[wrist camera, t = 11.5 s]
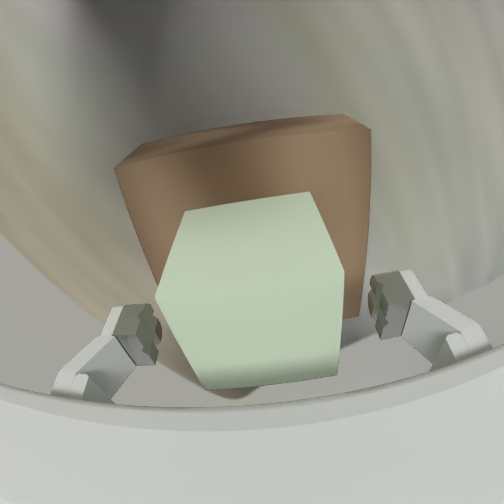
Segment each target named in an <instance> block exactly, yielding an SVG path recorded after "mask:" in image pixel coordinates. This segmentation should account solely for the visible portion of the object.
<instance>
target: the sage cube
mask: <svg viewBox="0 0 504 504" xmlns="http://www.w3.org/2000/svg"><path fill="white" fill-rule="evenodd" d="M343 297H344V269H343V267H342V264H341V262H340V259H339V257H338V255H337V252H336V250H335V247H334V245H333V243H332V240H331V238H330V236H329V233H328V231H327V229H326V226H325V224H324V222H323V220H322V217H321V215H320V213H319V211H318V208H317V206H316V204H315V202H314V200H313V197H312V195H311V193H310V191H309V192H302V193H295V194H288V195H281V196H274V197H267V198H261V199H254V200H248V201H241V202H235V203H229V204H223V205H218V206H212V207H206V208H201V209H195V210H190V211H185V212H184V215H183V218H182V220H181V223H180V226H179V228H178V231H177V234H176V237H175V239H174V242H173V245H172V248H171V251H170V253H169V256H168V259H167V262H166V265H165V268H164V271H163V274H162V277H161V280H160V283H159V286H158V289H157V292H156V295H155V299H156V301H157V303H158V305H159V307H160V309H161V311H162V313H163V315H164V317H165V319H166V321H167V323H168V325H169V327H170V329H171V330H172V332H173V334H174V336H175V338H176V340H177V342H178V343H179V345H180V347H181V349H182V351H183V352H184V354H185V356H186V358H187V360H188V361H189V363H190V365H191V367H192V368H193V370H194V372H195V373H196V375H197V377H198V378H199V380H200V382H201V383H202V385H203V387H204V388H205V390H212V389H229V388H243V387H254V386H264V385H273V384H282V383H289V382H297V381H303V380H310V379H317V378H322V377H328V376H334V375H337V372H338V363H339V352H340V341H341V329H342V314H343Z"/></svg>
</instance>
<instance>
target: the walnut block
mask: <svg viewBox="0 0 504 504" xmlns="http://www.w3.org/2000/svg"><path fill="white" fill-rule="evenodd" d="M114 170H115V173H116V176H117V179H118V183H119V186H120V189H121V192H122V194H123V197H124V200H125V203H126V206H127V209H128V212H129V214H130V217H131V220H132V223H133V225H134V228H135V231H136V233H137V236H138V239H139V241H140V244H141V246H142V249H143V251H144V254H145V256H146V259H147V261H148V264H149V266H150V269H151V271H152V274H153V276H154V278H155V281H156V283H157V285H158V286H159V283H160V280H161V277H162V274H163V271H164V268H165V265H166V262H167V259H168V256H169V253H170V251H171V248H172V245H173V242H174V239H175V237H176V234H177V231H178V228H179V226H180V223H181V220H182V218H183V215H184V212H185V211H190V210H195V209H201V208H206V207H212V206H218V205H223V204H229V203H235V202H241V201H248V200H254V199H261V198H267V197H274V196H281V195H288V194H295V193H302V192H309V191H310V193H311V195H312V197H313V200H314V202H315V204H316V206H317V208H318V211H319V213H320V215H321V217H322V220H323V222H324V224H325V226H326V229H327V231H328V233H329V236H330V238H331V240H332V243H333V245H334V247H335V250H336V252H337V255H338V257H339V259H340V262H341V264H342V267H343V269H344V297H343V314H342V319H345V318H351V317H357V316H359V313H360V306H361V298H362V291H363V282H364V274H365V264H366V254H367V242H368V229H369V212H370V189H371V129H369V128H367V127H365V126H364V125H362V124H360V123H358V122H357V121H355V120H353V119H351V118H349V117H347V116H345V115H344V114H338V115H321V116H308V117H296V118H286V119H277V120H268V121H260V122H253V123H246V124H239V125H233V126H227V127H221V128H215V129H210V130H204V131H199V132H194V133H189V134H184V135H180V136H175V137H171V138H166V139H162V140H158V141H154V142H150V143H146V144H142V145H140V146H139V147H138V148H137V149H136V150H134V151H133V152H132V153H131V154H130V155H128V156H127V157H126V158H125V159H124V160H123V161H122V162H120V163H119V164H118V165H117V166H116V167H115V168H114Z"/></svg>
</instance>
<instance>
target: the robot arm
mask: <svg viewBox="0 0 504 504" xmlns="http://www.w3.org/2000/svg"><path fill="white" fill-rule="evenodd" d="M370 285H371V287H372V289H371V291H370V292H369V294H368V307H369V311H370V314H371V317H372V318H374V319H375V320H376V325H375V327H376V330H377V332H378V335H379V338H380V340H383V339H388V338H393V337H398V336H401V337H402V338H403V339H404V340H405V341H407V342H408V343H409V344H410V345H411V346H413V347H414V348H415V349H416V350H417V351H418V352H420V353H421V354H422V355H423V356H424V357H425V358H426V359H428V360H429V361H430V362H431V363H432V364H433V365H432V367H431V369H430V371H429V372H427V373H423V374H420V375H416V376H413V377H410V378H406V379H402V380H399V381H395V382H391V383H387V384H383V385H378V386H374V387H370V388H365V389H361V390H356V391H351V392H346V393H340V394H336V395H329V396H324V397H317V398H310V399H303V400H296V401H288V402H279V403H270V404H259V405H246V406H229V407H190V408H189V407H185V408H184V407H181V408H180V407H149V406H133V405H120V404H115V403H114V402H113V401H112V400H111V398H112V397H113V396H114V394H115V393H116V392H117V391H118V389H119V388H120V387H121V386H122V384H123V383H124V382H125V381H126V379H127V378H128V377H129V375H130V374H131V373H132V372H133V371H134V369H135V368H136V366H146V365H156V360H157V356H158V352H159V351H158V349H157V348H156V346H157V345H158V344H159V343H160V342H161V339H162V328H161V324H160V322H159V320H158V318H156V317H155V316H153V312H154V310H153V308H152V307H151V305H150V304H132V305H118V306H114V307H113V308H112V310H111V312H110V314H109V317H108V319H107V321H106V324H105V326H104V329H103V331H102V334H101V336H97V337H96V338H95V339H94V340H93V341H92V342H91V343H89V344H88V345H87V346H86V347H85V348H84V349H83V350H82V351H81V352H79V353H78V354H77V355H76V356H75V357H74V358H73V359H72V360H71V361H69V362H68V363H67V364H66V365H65V366H64V367H63V368H62V369H61V370H60V371H59V374H58V376H57V378H56V381H55V383H54V386H53V389H52V391H51V394H50V395H48V394H43V393H38V392H34V391H29V390H24V389H21V388H16V387H12V386H9V385H5V384H2V383H0V504H504V344H502V345H500V346H498V347H495V348H492V346H491V344H490V343H489V341H488V339H487V337H486V335H485V334H484V332H483V330H482V329H481V327H480V325H479V324H478V323H476V322H474V321H473V320H471V319H469V318H468V317H466V316H464V315H463V314H461V313H459V312H458V311H456V310H454V309H452V308H451V307H449V306H447V305H446V304H444V303H442V302H440V301H439V300H437V299H435V298H433V297H432V296H431V297H428V296H427V294H426V293H425V291H424V289H423V288H422V286H421V285H420V283H419V281H418V280H417V278H416V277H415V275H414V273H413V272H412V270H411V269H409V268H407V269H402V270H397V271H392V272H387V273H381V274H375V275H372V276H371V279H370Z"/></svg>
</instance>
